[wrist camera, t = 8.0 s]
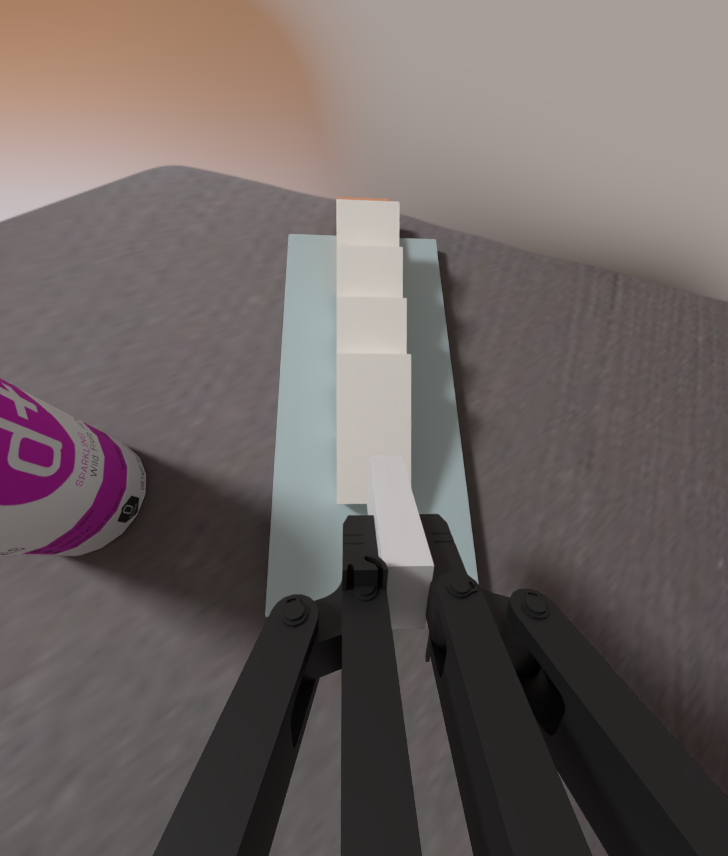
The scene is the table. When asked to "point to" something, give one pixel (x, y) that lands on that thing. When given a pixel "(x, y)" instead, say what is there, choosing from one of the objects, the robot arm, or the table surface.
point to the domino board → (317, 421)
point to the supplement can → (61, 481)
